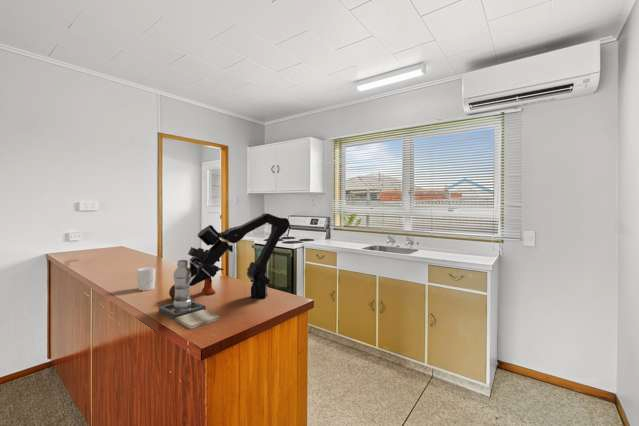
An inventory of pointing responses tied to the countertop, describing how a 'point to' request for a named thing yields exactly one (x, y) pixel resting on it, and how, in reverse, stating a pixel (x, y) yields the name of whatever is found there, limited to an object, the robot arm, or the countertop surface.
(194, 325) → the board
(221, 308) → the countertop surface
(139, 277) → the white cup
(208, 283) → the toy drill
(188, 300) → the plastic bottle
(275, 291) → the countertop surface
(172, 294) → the potato
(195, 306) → the collar
